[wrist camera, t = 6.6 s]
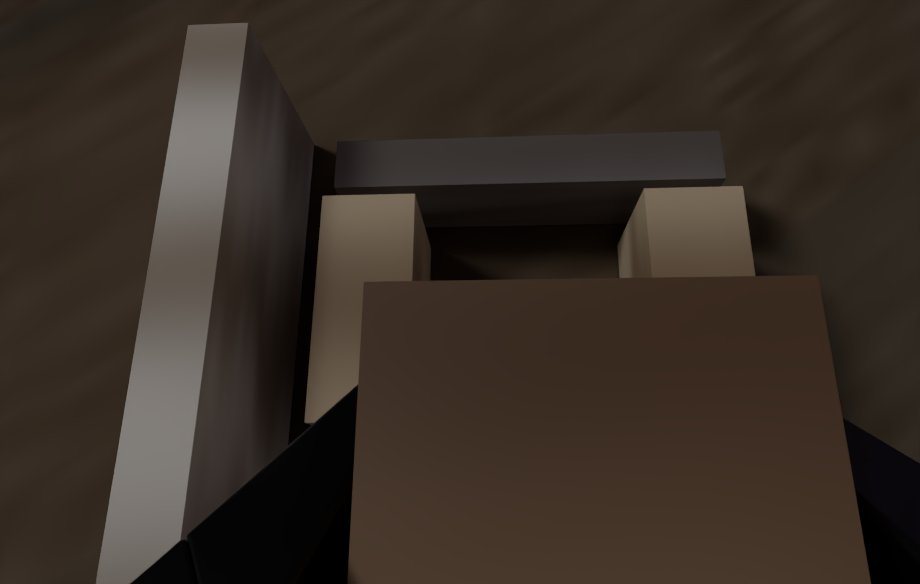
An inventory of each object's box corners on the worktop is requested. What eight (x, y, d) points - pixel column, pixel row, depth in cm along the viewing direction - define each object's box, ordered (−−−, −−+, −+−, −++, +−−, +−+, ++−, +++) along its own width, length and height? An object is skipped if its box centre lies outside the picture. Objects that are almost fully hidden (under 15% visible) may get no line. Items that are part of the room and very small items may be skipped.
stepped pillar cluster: (736, 588, 17) (854, 637, 11) (221, 579, 18) (89, 621, 12) (684, 133, 21) (751, 2, 15) (269, 145, 22) (188, 25, 16)
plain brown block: (630, 593, 14) (913, 830, 4) (448, 590, 14) (333, 807, 5) (617, 409, 15) (817, 274, 5) (450, 410, 15) (364, 282, 6)
